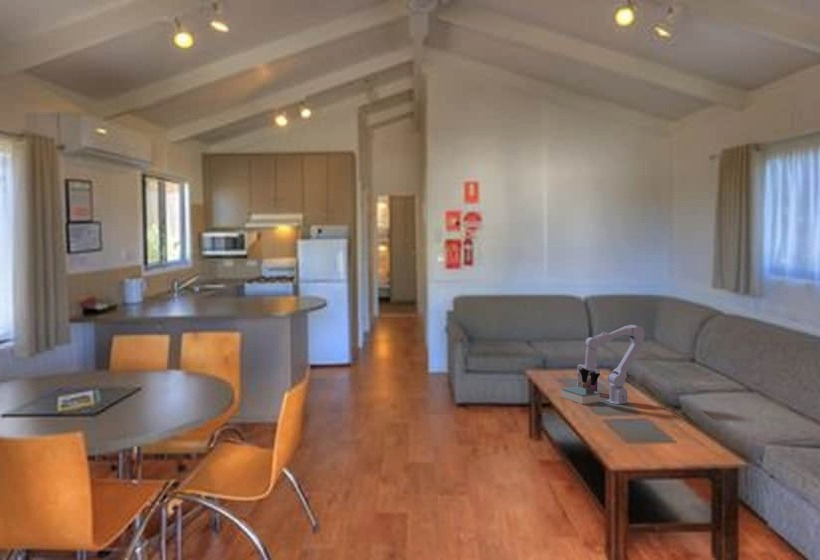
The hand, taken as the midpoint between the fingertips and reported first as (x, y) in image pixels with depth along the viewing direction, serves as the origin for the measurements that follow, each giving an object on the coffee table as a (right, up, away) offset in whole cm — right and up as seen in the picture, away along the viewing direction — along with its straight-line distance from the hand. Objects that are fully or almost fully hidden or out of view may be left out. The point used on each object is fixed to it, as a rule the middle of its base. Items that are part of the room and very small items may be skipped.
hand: (588, 383), depth 376 cm
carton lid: (-3, -5, +7) cm, 9 cm away
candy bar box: (+5, -9, +24) cm, 27 cm away
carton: (-3, -10, +7) cm, 13 cm away
